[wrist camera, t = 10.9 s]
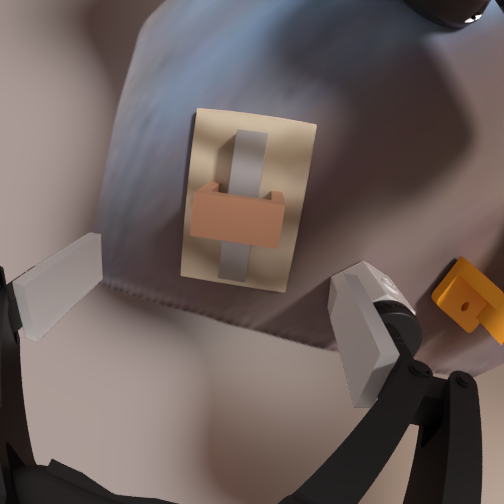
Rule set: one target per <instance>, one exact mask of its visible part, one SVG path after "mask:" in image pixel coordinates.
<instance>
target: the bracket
mask: <svg viewBox="0 0 504 504" xmlns="http://www.w3.org/2000/svg"><path fill="white" fill-rule="evenodd" d="M432 300H433V301H434V302H435V303H436V304H437V305H438V306H439V307H440V308H441V309H442V310H443V311H444V312H445V313H446V314H448V315H449V316H450V317H451V318H452V319H453V320H454V321H455V322H457V323H458V324H459V325H460V326H461V327H462V328H463V329H464V330H465V331H466V332H468V333H471V332H472V331H474V330H475V328H476V327H477V326H478V325H479V324H480V323H481V324H482V325H483V326H484V327H485V328H486V329H487V330H488V331H489V332H490V334H491V335H492V336H493V337H494V338H495V339H496V340H497V341H498V342H499V343H500V345H502V344H503V342H504V293H503V292H502V291H501V290H500V289H499V288H498V287H497V286H496V285H495V284H494V283H493V282H491V281H490V280H489V279H488V278H487V277H486V276H485V275H484V274H482V273H481V272H480V271H479V270H478V269H477V268H476V267H474V266H473V265H472V264H471V263H470V262H468V261H467V260H466V259H465V258H463V257H462V256H461V257H460V258H459V259H458V261H457V262H456V263H455V265H454V266H453V267H452V269H451V270H450V271H449V273H448V274H447V275H446V276H445V278H444V279H443V280H442V282H441V283H440V284H439V285H438V286H437V288H436V289H435V290H434V291H433V293H432Z"/></svg>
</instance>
